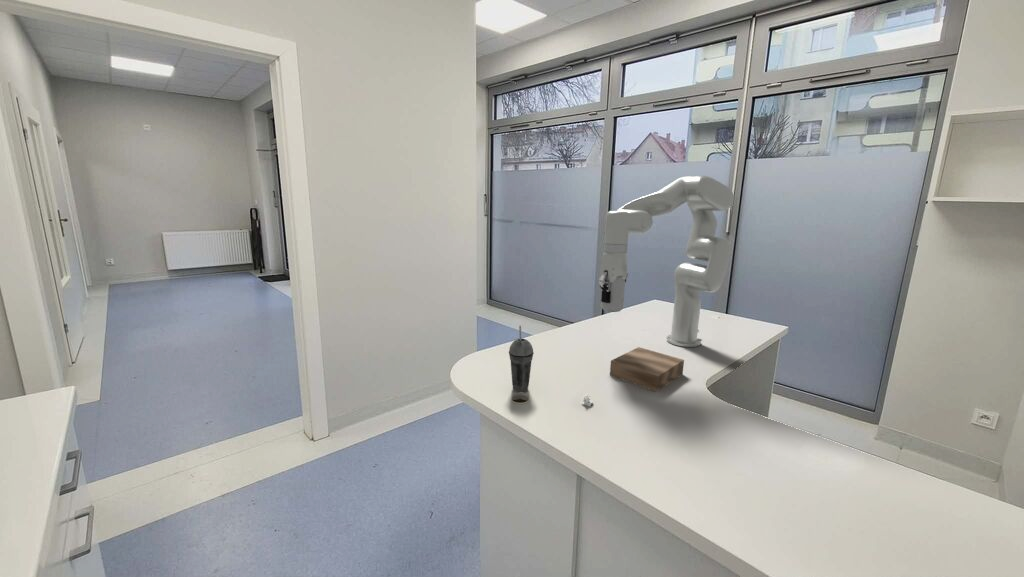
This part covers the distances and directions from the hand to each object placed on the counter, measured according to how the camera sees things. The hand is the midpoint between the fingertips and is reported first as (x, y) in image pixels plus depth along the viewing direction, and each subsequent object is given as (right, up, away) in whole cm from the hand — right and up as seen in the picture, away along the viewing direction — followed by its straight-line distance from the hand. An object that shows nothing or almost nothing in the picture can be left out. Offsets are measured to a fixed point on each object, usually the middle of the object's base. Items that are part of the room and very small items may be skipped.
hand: (612, 300), depth 144 cm
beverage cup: (-32, -26, -19) cm, 45 cm away
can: (0, -4, +1) cm, 4 cm away
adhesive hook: (-13, -29, -28) cm, 42 cm away
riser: (+9, -24, -7) cm, 27 cm away
